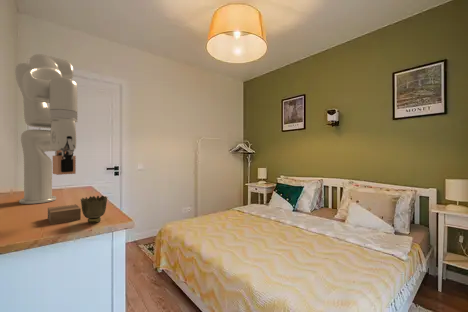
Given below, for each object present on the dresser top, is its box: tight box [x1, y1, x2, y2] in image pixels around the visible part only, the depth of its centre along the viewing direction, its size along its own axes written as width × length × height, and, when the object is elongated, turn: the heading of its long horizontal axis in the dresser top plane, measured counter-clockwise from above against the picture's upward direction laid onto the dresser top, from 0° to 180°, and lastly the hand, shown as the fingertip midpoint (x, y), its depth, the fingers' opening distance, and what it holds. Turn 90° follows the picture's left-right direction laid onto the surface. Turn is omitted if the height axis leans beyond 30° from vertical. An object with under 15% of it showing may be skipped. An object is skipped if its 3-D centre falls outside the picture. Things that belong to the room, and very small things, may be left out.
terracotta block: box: [52, 155, 77, 176], centre depth 78 cm, size 5×5×6 cm
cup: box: [80, 195, 108, 224], centre depth 76 cm, size 8×7×8 cm
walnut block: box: [47, 204, 82, 225], centre depth 79 cm, size 8×8×4 cm
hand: (64, 170), depth 78 cm, fingers closed on terracotta block, 5 cm apart
